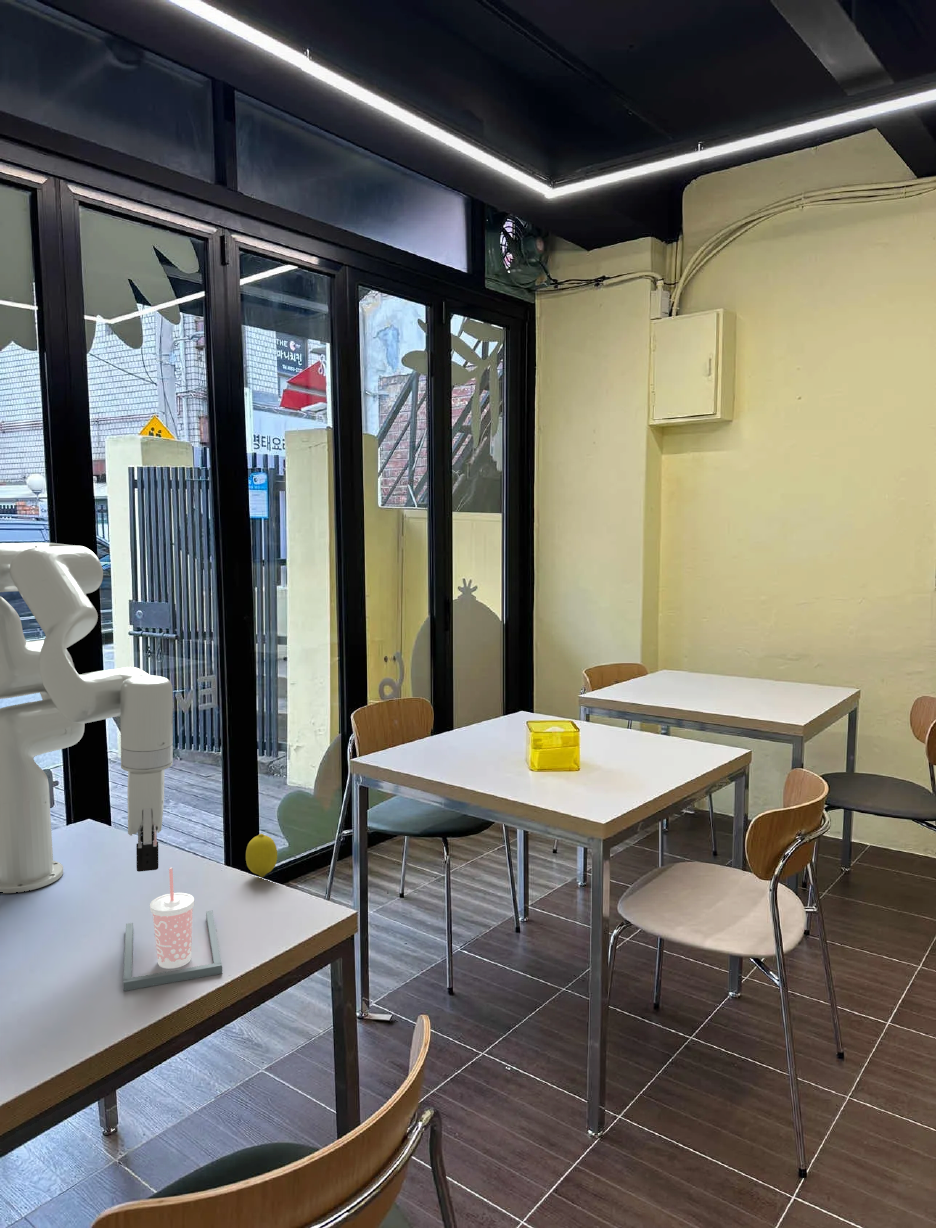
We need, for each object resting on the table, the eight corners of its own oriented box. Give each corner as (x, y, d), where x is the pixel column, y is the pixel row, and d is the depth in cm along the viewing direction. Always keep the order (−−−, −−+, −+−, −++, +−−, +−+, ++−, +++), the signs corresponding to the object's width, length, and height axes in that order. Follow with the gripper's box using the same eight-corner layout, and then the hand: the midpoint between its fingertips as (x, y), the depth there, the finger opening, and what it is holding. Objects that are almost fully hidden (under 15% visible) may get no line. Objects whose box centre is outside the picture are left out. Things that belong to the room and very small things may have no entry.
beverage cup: (146, 958, 127) (142, 866, 125) (188, 945, 130) (184, 856, 129) (160, 975, 122) (155, 880, 120) (202, 962, 125) (199, 869, 124)
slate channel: (126, 930, 135) (126, 923, 135) (212, 917, 139) (212, 910, 139) (123, 990, 118) (123, 982, 118) (222, 973, 122) (222, 965, 122)
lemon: (265, 868, 159) (263, 826, 158) (284, 875, 156) (283, 833, 155) (240, 877, 155) (238, 834, 154) (259, 885, 151) (257, 841, 151)
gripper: (121, 743, 139) (122, 851, 141) (119, 773, 125) (120, 892, 128) (171, 741, 142) (171, 847, 144) (174, 769, 128) (174, 886, 130)
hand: (147, 868), depth 136 cm, fingers closed
